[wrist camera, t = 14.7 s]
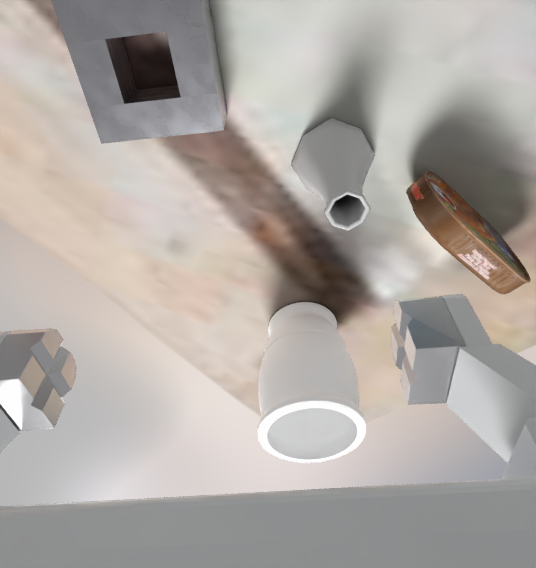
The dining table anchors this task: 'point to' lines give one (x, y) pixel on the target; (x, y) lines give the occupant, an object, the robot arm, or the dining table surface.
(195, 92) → the metal block with hole
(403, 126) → the dining table surface
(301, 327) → the jar
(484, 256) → the tin
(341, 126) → the flask
